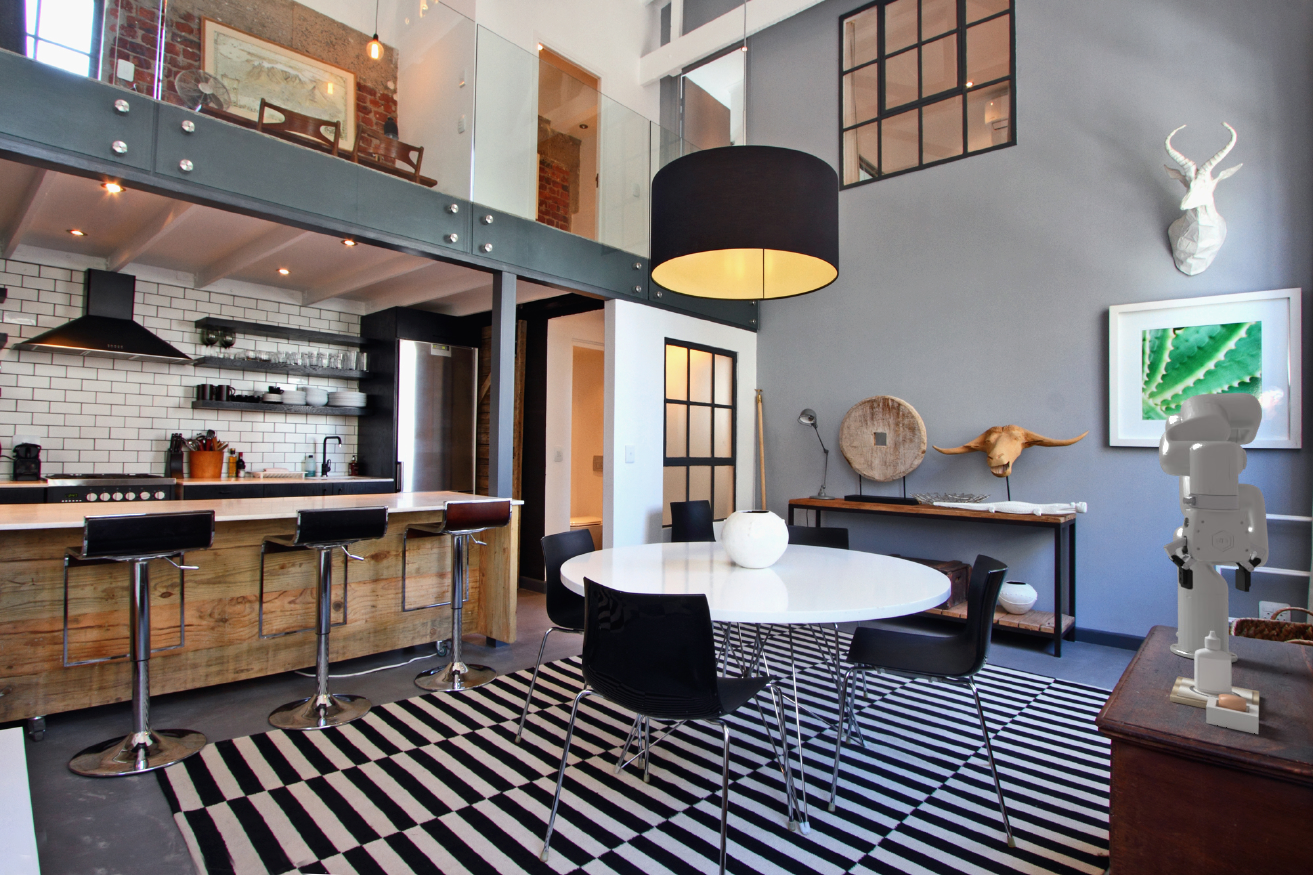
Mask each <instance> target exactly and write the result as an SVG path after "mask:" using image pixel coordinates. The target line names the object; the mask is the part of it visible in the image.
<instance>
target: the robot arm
mask: <svg viewBox="0 0 1313 875" xmlns="http://www.w3.org/2000/svg"><path fill="white" fill-rule="evenodd" d="M1262 417H1263V410H1262V406H1261V403H1260V401H1259V400H1258V398H1257V397H1256V396H1255V395H1253V394H1252V393H1246V392H1233V393H1231V392H1229V393H1226V392H1224V393H1221V392H1220V393H1204V394H1203V393H1202V394H1196V395H1193V396H1191V397H1189V398H1188V397H1187V399H1186V400H1185V401H1183V403H1182V404H1181V406H1180V411H1179V412H1177V413H1173V414H1171V415H1170V416H1168V417H1167V419H1166V421H1165V426H1164V428H1165V431H1164V432H1163V433H1162V436H1161V438H1160V439H1159V444H1158V458H1159V461H1158V462H1159V465H1160V468H1161V470H1162V471H1163V472H1164V473H1165V474H1166V475H1169V476H1173V477H1178V493H1179V494H1178V495H1179V496H1178V497H1179V507H1180V511H1181V514H1182V515H1183V516H1184V518H1183V522H1182V525H1180V526H1178V527H1177V528H1175V530H1174V531H1173V535H1172V542H1169V543H1167V544H1164V545H1163V550H1164V552H1165V553H1166V555H1167V556H1168V559H1169V560H1170V561H1171V562H1172V563H1173V564H1174V565H1175V566H1176V570H1177V571H1176V572H1177V632H1175V636H1176V637H1177V642H1176V643H1173V644H1171V645H1170V646H1169V647H1170V648H1169V649H1170V652H1172V653H1173V654H1175V655H1178V656H1180V657H1183V658H1184V657H1185V658H1187V659H1192V660H1194V656H1195V651H1196V650H1199V649H1203V648H1206V647H1205V637H1207V636H1209V634H1210V631H1215V635H1216V637H1217V638H1219V639H1220V644H1221V649H1220V650H1221V651H1223V652H1226V653H1227V654H1229V655H1230V657H1231V663H1236V662H1237V661H1238V655H1237V654H1236V653H1235V652H1233V651H1230V650H1229V648H1230V647H1229V646H1230V645H1229V644H1230V642H1229V638H1230V637H1229V636H1230V635H1229V629H1230V628H1229V627H1230V626H1229V620H1230V619H1229V616H1230V614H1229V585H1228V583H1227V580H1226V578H1224V576H1223V575H1222V574H1221V573H1220V572H1219V571H1218V570H1217V569H1215V566H1225V567H1226V566H1227V567H1236V569H1235V572H1234V573H1235V574H1234V577H1235V578H1234V580H1235V581H1234V584H1235V586H1234V588H1235V589H1236V590H1239V591H1241V592H1244V593H1249V592H1250V588H1251V586H1252V573H1253V572H1254V571H1255V568H1261V567H1264V566H1265V565H1266V563H1267V562H1268V559H1269V552H1270V551H1269V535H1268V525H1267V511H1266V502H1265V498H1264V495H1263V493H1262V490H1261V489H1260V488H1259V487H1258V486H1255V485H1253V484H1248V483H1242V482H1241V483H1239V475H1240V474H1241V473H1242V472H1243V471H1244V470H1245V469H1246V468H1247V466H1248V456H1247V452H1246V450H1245V449H1244V448H1243V447H1242V446H1244V445H1245V446H1246V445H1249V444H1251V443H1252V442H1254V440H1255V439H1256V436H1257V434H1258V431H1259V429H1260V426H1261V423H1262V419H1263V418H1262Z"/></svg>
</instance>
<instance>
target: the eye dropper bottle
mask: <svg viewBox="0 0 1313 875" xmlns="http://www.w3.org/2000/svg"><path fill="white" fill-rule="evenodd" d="M1205 647H1206V648H1203V649H1199V650H1196V651H1195V656H1194V659H1193V660H1194V661H1193V662H1194V668H1193V670H1194V671H1193V672H1194V678H1193V679H1194V682H1195V688H1196V689H1197V690H1198V691H1201V692H1205V693H1210V694H1218V695H1219V694H1229V695H1230V694H1231V693H1232V682H1233V679H1232V678H1233V677H1232V673H1233V672H1232V671H1233V670H1232V668H1233V667H1232V662H1231V657H1230V655H1229V654H1227V653H1226V652H1223V651H1221V650H1220V649H1221V644H1220V639H1219V638H1217V637H1216V635H1215V631H1210V634H1209V636H1207V637H1205Z"/></svg>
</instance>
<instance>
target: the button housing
mask: <svg viewBox="0 0 1313 875" xmlns="http://www.w3.org/2000/svg"><path fill="white" fill-rule="evenodd" d="M1205 712H1206V714H1205V715H1206V716H1205V718H1206V721H1205V723H1206V724H1210V725H1214V726H1217V725H1218V726H1217V727H1223V728H1226V727H1227V728H1228V729H1232V730H1236V731H1239V732H1240V731H1241V732H1246V733H1251V734H1254V733H1255V734H1256V735H1259V723H1260V722H1259V719H1260V715H1259V714H1260V705H1259V706H1256V705H1251V704H1246V712H1241V711H1236V710H1231V709H1226V708H1221V707H1219V698H1215V697H1210V696H1209V697H1208V701H1207V705H1206V708H1205ZM1227 728H1226V729H1227Z"/></svg>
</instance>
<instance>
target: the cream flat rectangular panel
mask: <svg viewBox="0 0 1313 875" xmlns="http://www.w3.org/2000/svg"><path fill="white" fill-rule="evenodd" d="M1230 695H1235V696H1239V697H1242V698H1244V699H1246V704H1251V705H1256V706H1259V707H1260V691H1259V690H1254V689H1249V688H1245V687H1244V688H1243V687H1239V686H1232V693H1231V694H1230ZM1209 696H1210V697H1215V698H1219V695H1218V694H1210V693H1205V692H1201V691H1198V690H1197V689H1196V688H1195V682H1194V678H1189V677H1183V676H1177V677H1176V680H1175V681H1174V685H1173V687H1172V690H1171V692H1170V695H1169V702H1172V703H1177V704H1181V705H1187V706H1193V707H1196V708H1201V709H1206V705H1207V701H1208V697H1209Z"/></svg>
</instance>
